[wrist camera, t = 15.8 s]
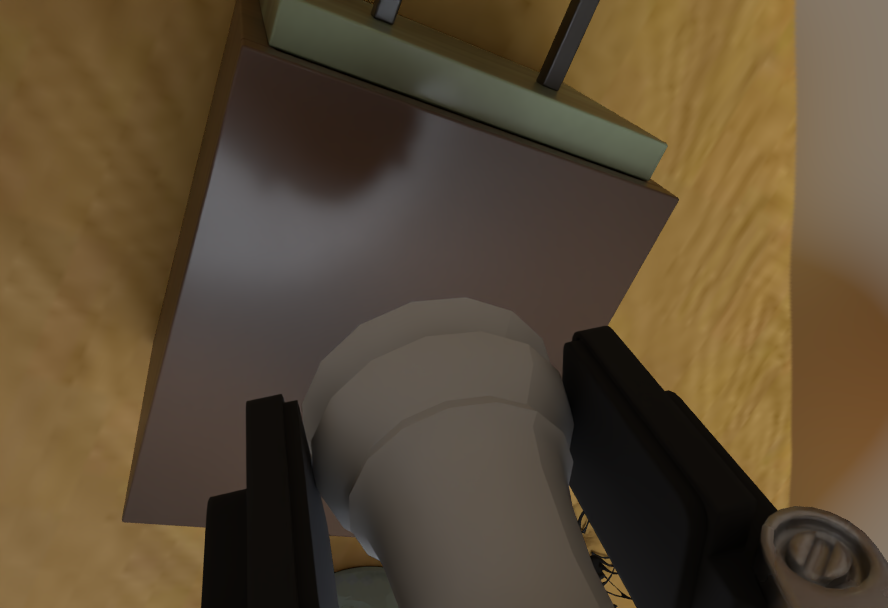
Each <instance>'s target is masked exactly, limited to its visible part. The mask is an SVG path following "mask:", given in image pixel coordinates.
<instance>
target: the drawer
mask: <svg viewBox="0 0 888 608" xmlns="http://www.w3.org/2000/svg"><path fill="white" fill-rule="evenodd" d="M401 1H402V0H375V1H374V4H370V3H368V2H366V1H363V0H259V3H260V7H261V12H262V16H263V21H264V25H265V30H266V34H267V39H268V43H269V45H270V46H271V47H273V48H276V49H279V50H282V51H285V52H287V53H290V54H293V55H296V56H299V57H301V58H304V59H307V60H310V61H313V62H315V63H318V64H321V65H324V66H327V67H329V68H332V69H335V70H338V71H341V72H343V73H346V74H349V75H352V76H354V77H357V78H360V79H363V80H366V81H368V82H371V83H374V84H377V85H380V86H382V87H385V88H388V89H391V90H394V91H396V92H399V93H402V94H405V95H408V96H410V97H413V98H416V99H419V100H422V101H424V102H427V103H430V104H433V105H436V106H438V107H441V108H444V109H447V110H450V111H452V112H455V113H458V114H461V115H464V116H466V117H469V118H472V119H475V120H477V121H480V122H483V123H486V124H489V125H491V126H494V127H497V128H500V129H503V130H505V131H508V132H511V133H514V134H517V135H519V136H522V137H525V138H528V139H531V140H533V141H536V142H539V143H542V144H545V145H547V146H550V147H553V148H556V149H559V150H561V151H564V152H567V153H570V154H573V155H575V156H578V157H581V158H584V159H587V160H589V161H592V162H595V163H598V164H601V165H603V166H606V167H609V168H612V169H614V170H617V171H620V172H623V173H626V174H628V175H631V176H634V177H637V178H640V179H642V180H645V181H649V180H650V178H651V176H652V174H653V172H654V170H655V168H656V167H657V165H658V163H659V161H660V159H661V157H662V156H663V154H664V152H665V150H666V148H667V146H668V145H667V144H666V143H665V142H663V141H661V140H660V139H658V138H656V137H655V136H653V135H651V134H650V133H648V132H646V131H645V130H643V129H641V128H639V127H638V126H636V125H634V124H633V123H631V122H629V121H628V120H626V119H624V118H622V117H621V116H619V115H617V114H616V113H614V112H612V111H611V110H609V109H607V108H606V107H604V106H602V105H600V104H599V103H597V102H595V101H594V100H592V99H590V98H589V97H587V96H585V95H583V94H582V93H580V92H578V91H577V90H575V89H573V88H572V87H570V86H568V85H567V84H565V83H563V80H564V77H565V75H566V73H567V71H568V69H569V67H570V64H571V62H572V60H573V58H574V56H575V53H576V51H577V49H578V47H579V45H580V42H581V40H582V38H583V36H584V34H585V31H586V29H587V27H588V25H589V23H590V20H591V18H592V16H593V14H594V12H595V9H596V7H597V5H598V3H599V1H600V0H571V2H570V4H569V7H568V9H567V11H566V13H565V16H564V18H563V20H562V23H561V25H560V27H559V29H558V32H557V34H556V36H555V39H554V41H553V43H552V45H551V48H550V50H549V52H548V54H547V57H546V59H545V61H544V64H543V66H542V68H541V70H540V73H539V72H537V71H535V70H532V69H530V68H527V67H525V66H522V65H520V64H517V63H515V62H513V61H510V60H508V59H505V58H503V57H500V56H498V55H495V54H493V53H491V52H488V51H486V50H483V49H481V48H478V47H476V46H473V45H471V44H468V43H466V42H464V41H461V40H459V39H456V38H454V37H451V36H449V35H446V34H444V33H442V32H439V31H437V30H434V29H432V28H429V27H427V26H424V25H422V24H419V23H417V22H415V21H412V20H410V19H407V18H405V17H402V16H400V15H397V13H398V10H399V7H400V4H401Z"/></svg>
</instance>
